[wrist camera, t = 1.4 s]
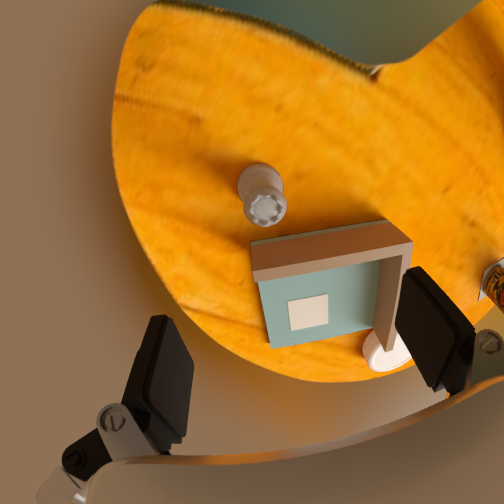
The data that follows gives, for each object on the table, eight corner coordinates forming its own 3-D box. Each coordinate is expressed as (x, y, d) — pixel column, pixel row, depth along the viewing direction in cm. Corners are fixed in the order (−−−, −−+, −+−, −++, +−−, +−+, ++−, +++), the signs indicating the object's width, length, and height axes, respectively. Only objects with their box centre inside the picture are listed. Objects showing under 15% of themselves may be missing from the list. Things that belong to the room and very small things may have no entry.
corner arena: (386, 219, 28) (413, 241, 23) (377, 321, 36) (392, 349, 31) (250, 241, 29) (252, 271, 24) (270, 343, 37) (274, 377, 31)
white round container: (413, 304, 35) (423, 318, 32) (415, 340, 39) (423, 354, 36) (355, 333, 37) (363, 349, 34) (366, 365, 41) (372, 380, 38)
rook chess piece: (290, 191, 27) (307, 219, 20) (252, 213, 28) (256, 249, 21) (266, 154, 25) (276, 168, 18) (228, 178, 26) (222, 202, 19)
